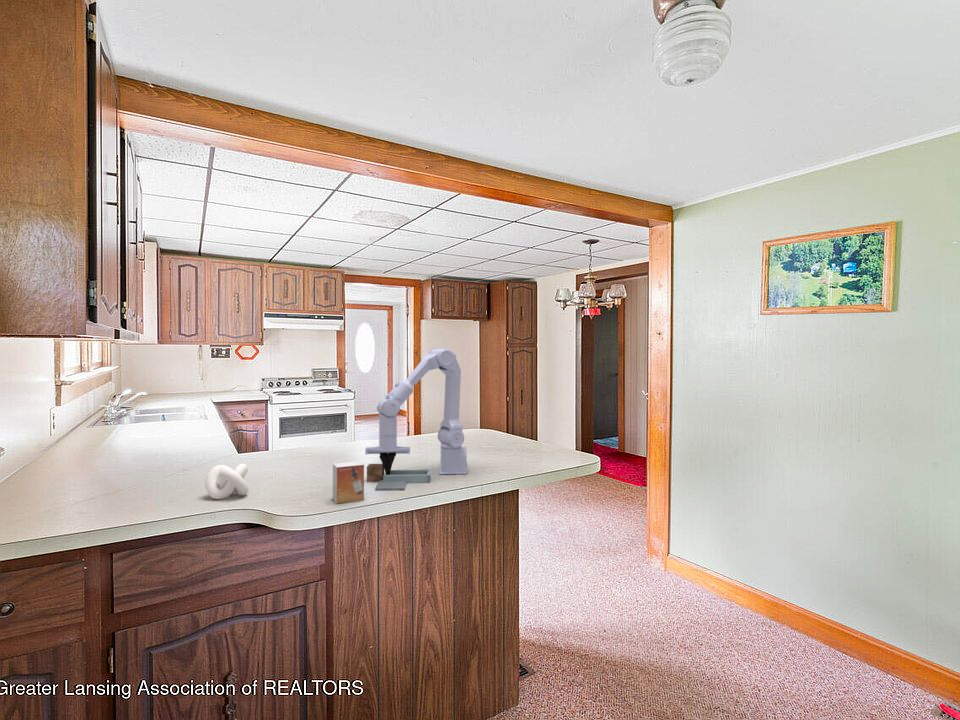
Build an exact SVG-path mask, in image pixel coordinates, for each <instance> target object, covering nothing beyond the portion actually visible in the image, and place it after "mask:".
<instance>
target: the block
mask: <svg viewBox="0 0 960 720" xmlns="http://www.w3.org/2000/svg"><path fill="white" fill-rule="evenodd" d="M383 475H385V469H384V466H383V463H368V465H367V466H366V483H368V482H369V483H372V482H373V483H375V482H376V483H378V482H379V481H383Z"/></svg>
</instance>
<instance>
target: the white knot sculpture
mask: <svg viewBox="0 0 960 720" xmlns="http://www.w3.org/2000/svg"><path fill="white" fill-rule="evenodd" d="M248 470H249V468H248V465H247V464H246V463H239V464H238V465H237V466H236V467H235V468H234V469H233V468H232V467H230V466H228V465H225V464H217V465H216V466H214V467H212V468H211V469H210V470H209V471H208V473H207V474H206V476H205V477H206V478H205V480H204V485H205V487H204V488H205V490H206V493H207V495H209V497H211V498H213V499H215V500H224V499H226V498H228V497H230V496H231V495H232V494H233V493H234V492H235V493H236V494H237V495H238V496H241V497H243V496H244V497H245V496H246V495H247V494H248V493H249V491H250V490H249V489H250V488H249V485H248V484H247V482H246V480H245V479H244V478H245V477H246V475H247V473H248Z"/></svg>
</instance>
